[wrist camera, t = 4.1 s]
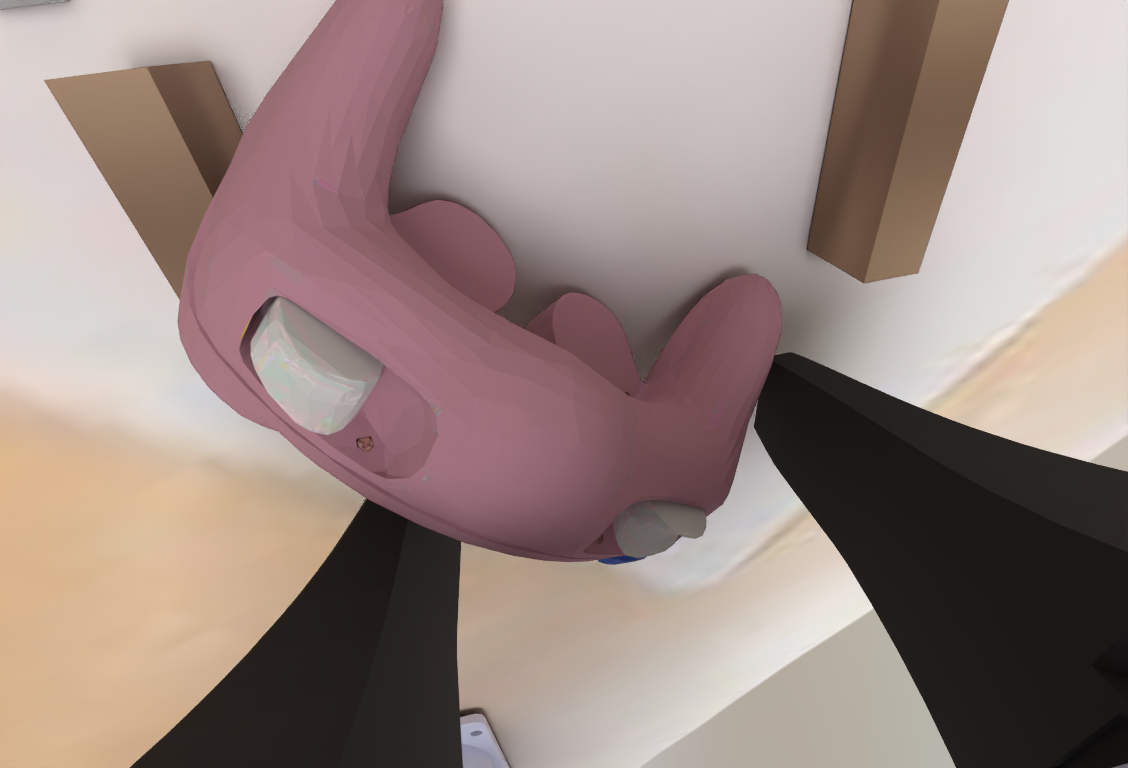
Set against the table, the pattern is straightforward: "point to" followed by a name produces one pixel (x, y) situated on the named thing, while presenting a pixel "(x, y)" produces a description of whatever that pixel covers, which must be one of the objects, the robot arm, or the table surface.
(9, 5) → the frame
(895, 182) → the wooden blocks
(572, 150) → the table surface
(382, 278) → the video game controller
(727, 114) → the table surface
